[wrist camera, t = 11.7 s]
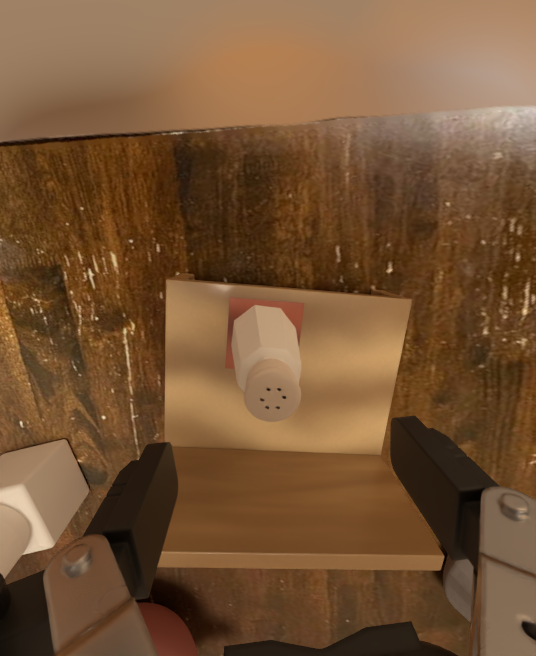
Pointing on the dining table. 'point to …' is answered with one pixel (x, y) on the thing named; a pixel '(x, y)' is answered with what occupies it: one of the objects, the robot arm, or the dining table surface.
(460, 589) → the coffee pot
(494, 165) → the dining table surface
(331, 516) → the shelf
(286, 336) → the pepper shaker
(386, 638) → the robot arm
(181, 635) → the balloon
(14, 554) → the medicine bottle
